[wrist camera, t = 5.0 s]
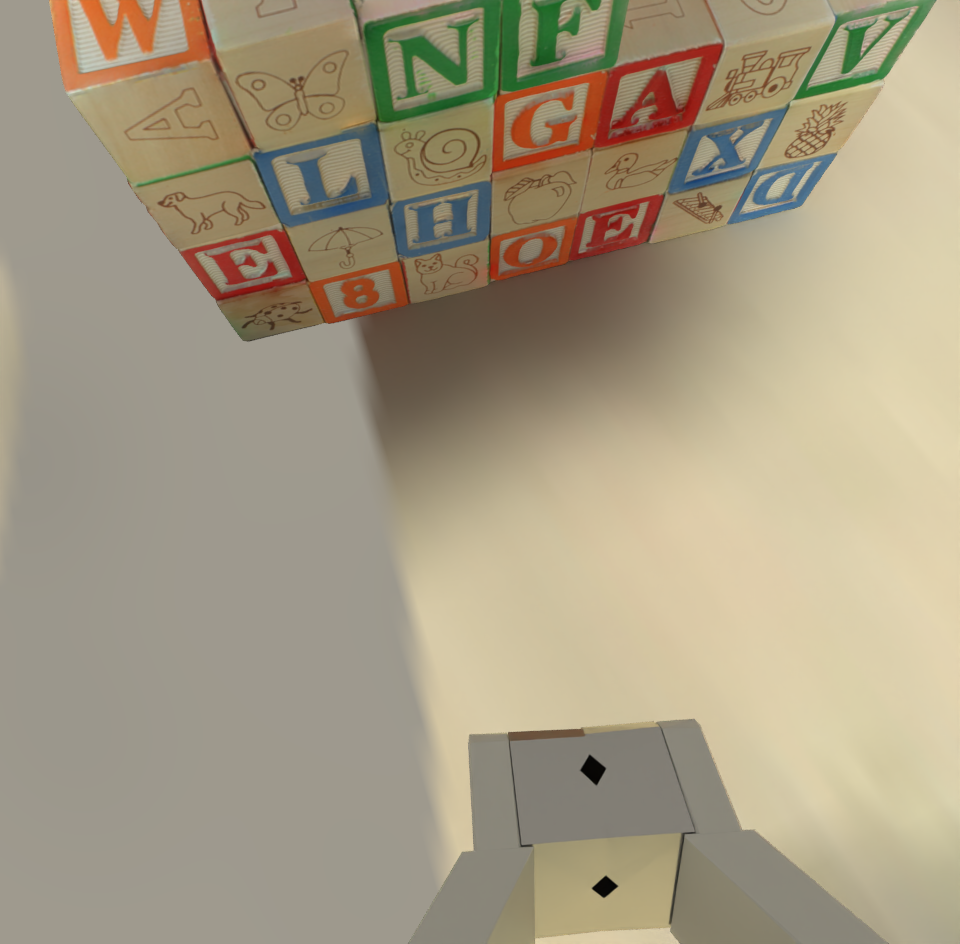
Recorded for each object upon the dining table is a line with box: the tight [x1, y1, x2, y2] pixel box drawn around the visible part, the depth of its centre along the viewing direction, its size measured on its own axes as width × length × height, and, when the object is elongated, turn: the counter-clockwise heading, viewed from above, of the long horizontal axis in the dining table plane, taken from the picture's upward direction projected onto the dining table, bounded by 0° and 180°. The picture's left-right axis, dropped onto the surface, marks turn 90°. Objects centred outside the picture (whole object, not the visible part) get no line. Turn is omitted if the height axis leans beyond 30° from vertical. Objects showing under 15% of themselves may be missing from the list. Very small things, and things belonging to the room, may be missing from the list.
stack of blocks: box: [49, 0, 936, 342], centre depth 22 cm, size 21×6×12 cm, turn 105°
